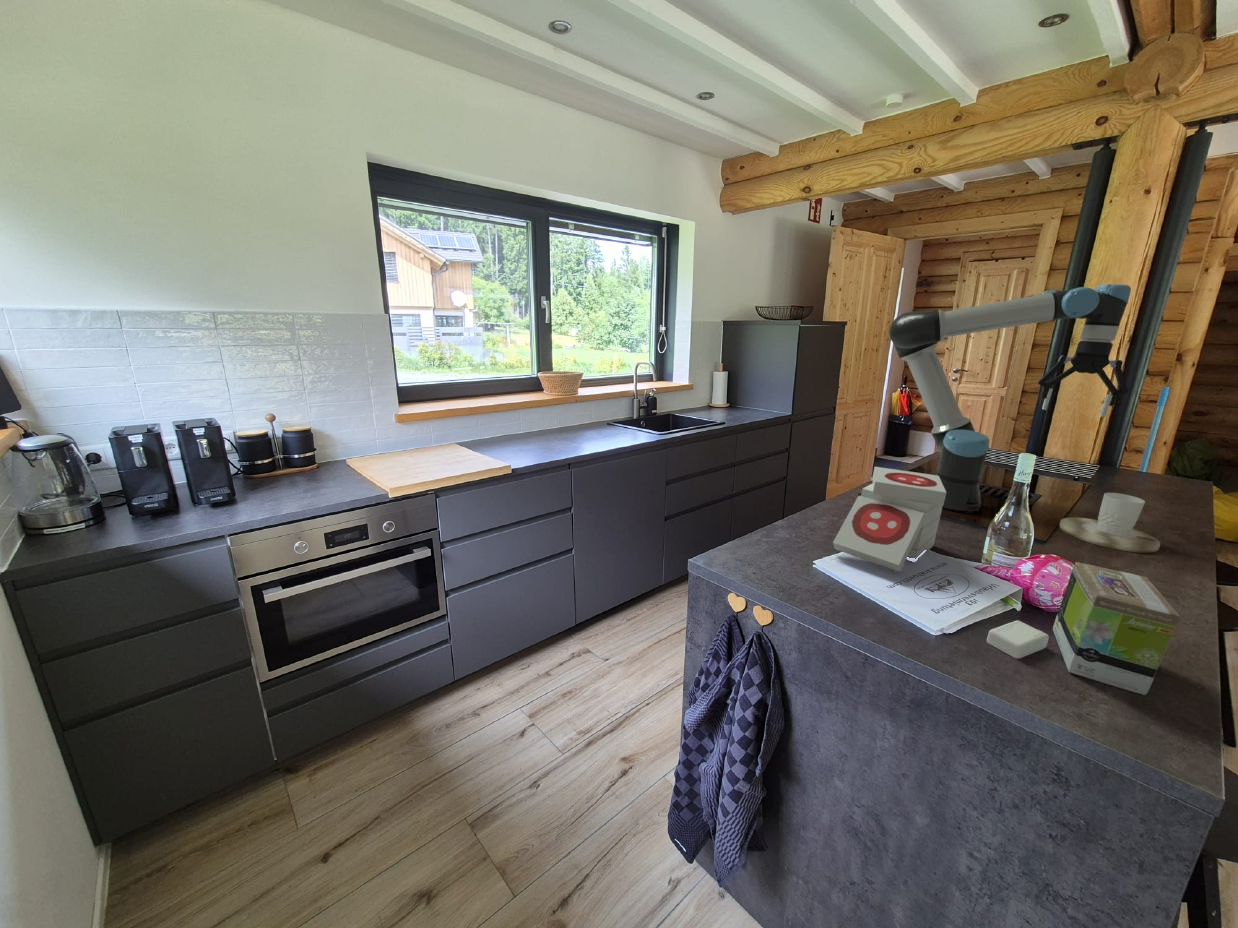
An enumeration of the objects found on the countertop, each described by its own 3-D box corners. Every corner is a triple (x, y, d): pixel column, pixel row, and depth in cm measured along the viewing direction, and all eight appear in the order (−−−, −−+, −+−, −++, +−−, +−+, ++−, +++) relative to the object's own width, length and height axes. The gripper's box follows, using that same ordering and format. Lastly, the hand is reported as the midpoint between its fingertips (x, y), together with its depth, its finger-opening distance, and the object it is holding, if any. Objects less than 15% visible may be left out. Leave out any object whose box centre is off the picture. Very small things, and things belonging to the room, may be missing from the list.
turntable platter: (1065, 539, 134) (1067, 533, 134) (1054, 516, 150) (1055, 511, 150) (1170, 560, 124) (1172, 554, 123) (1145, 533, 140) (1147, 528, 139)
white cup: (1115, 527, 140) (1127, 493, 137) (1140, 539, 132) (1153, 503, 129) (1085, 525, 140) (1096, 491, 137) (1109, 536, 133) (1121, 501, 130)
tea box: (1150, 698, 78) (1183, 615, 74) (1066, 673, 83) (1093, 594, 79) (1121, 647, 90) (1148, 574, 86) (1050, 628, 95) (1073, 558, 91)
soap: (1017, 661, 86) (1021, 646, 85) (983, 642, 91) (987, 628, 90) (1047, 649, 89) (1051, 634, 88) (1013, 631, 94) (1017, 618, 93)
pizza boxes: (822, 554, 123) (834, 484, 117) (870, 523, 143) (881, 463, 137) (907, 584, 109) (924, 508, 104) (946, 546, 129) (962, 480, 124)
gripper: (1151, 344, 142) (1124, 417, 148) (1040, 337, 154) (1019, 405, 161) (1160, 345, 136) (1131, 421, 142) (1043, 337, 148) (1022, 408, 154)
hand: (1072, 412), depth 151 cm, fingers open, 13 cm apart
